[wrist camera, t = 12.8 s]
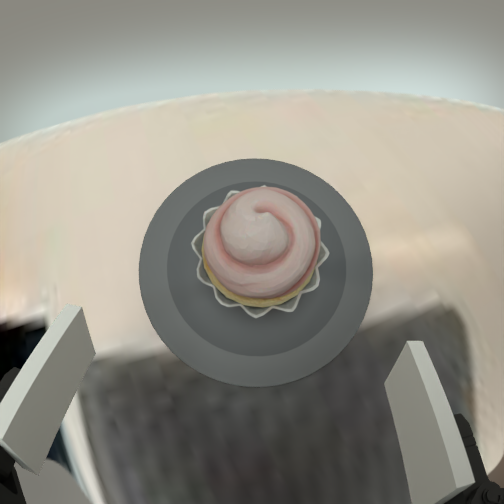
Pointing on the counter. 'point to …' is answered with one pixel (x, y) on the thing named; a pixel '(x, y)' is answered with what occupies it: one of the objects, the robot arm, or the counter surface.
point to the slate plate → (236, 318)
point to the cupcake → (260, 250)
